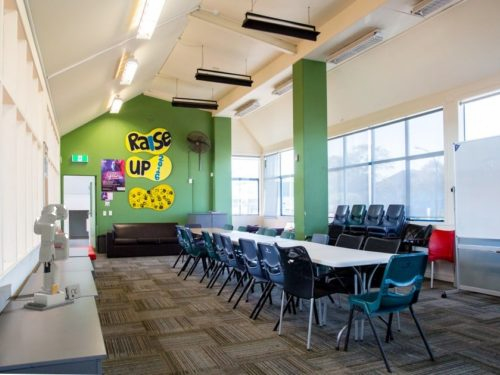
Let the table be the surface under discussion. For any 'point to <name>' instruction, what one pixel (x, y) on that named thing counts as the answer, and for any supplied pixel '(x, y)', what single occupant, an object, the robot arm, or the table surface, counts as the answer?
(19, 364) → the table surface
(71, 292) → the electrical switch
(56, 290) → the handle
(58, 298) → the block
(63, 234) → the robot arm
